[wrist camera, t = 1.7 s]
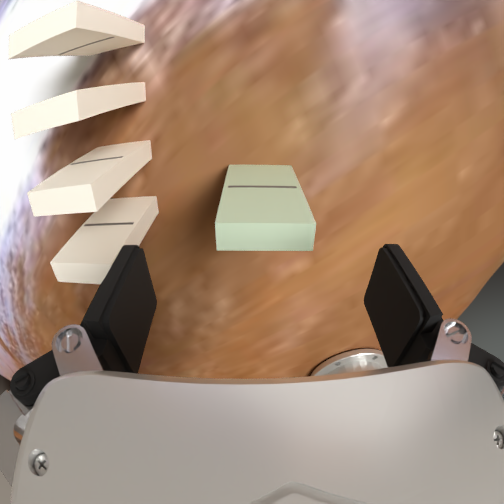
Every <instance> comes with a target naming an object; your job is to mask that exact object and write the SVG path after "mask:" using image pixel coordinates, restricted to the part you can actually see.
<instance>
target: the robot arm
mask: <svg viewBox="0 0 504 504" xmlns="http://www.w3.org/2000/svg"><path fill="white" fill-rule="evenodd" d="M364 304H365V307H366V310H367V312H368V315H369V317H370V320H371V322H372V325H373V328H374V330H375V333H376V336H377V338H378V341H379V344H380V347H381V349H382V351H380V350H376V349H358V350H352V351H348V352H344V353H342V354H339V355H336V356H334V357H332V358H330V359H328V360H326V361H325V362H323V363H322V364H320V365H319V366H318V367H317V368H316V369H315V370H314V371H313V372H312V374H311V376H308V377H292V378H267V379H215V378H190V377H174V376H161V375H148V374H137V373H138V370H139V367H140V363H141V359H142V355H143V351H144V348H145V344H146V340H147V337H148V333H149V330H150V326H151V323H152V319H153V316H154V313H155V309H156V305H157V300H156V296H155V292H154V289H153V285H152V281H151V278H150V274H149V270H148V266H147V262H146V258H145V254H144V251H143V249H142V248H139V246H138V245H123V247H122V248H121V250H120V252H119V253H118V255H117V257H116V259H115V261H114V262H113V264H112V266H111V268H110V269H109V271H108V273H107V275H106V277H105V278H104V280H103V281H102V283H101V285H100V287H99V288H98V290H97V292H96V294H95V296H94V298H93V300H92V302H91V304H90V306H89V308H88V310H87V312H86V314H85V316H84V318H83V320H82V323H81V325H75V324H74V325H68V326H65V327H63V328H62V329H60V330H59V331H58V332H57V333H56V334H55V336H54V338H53V341H52V350H51V351H50V352H48V353H46V354H44V355H43V356H41V357H39V358H38V359H36V360H34V361H33V362H31V363H29V364H27V365H26V366H24V367H22V368H21V369H19V370H18V371H17V372H16V373H15V374H14V375H13V377H12V380H11V384H10V388H11V390H10V391H9V392H8V391H7V390H6V391H5V392H4V393H3V394H2V395H1V396H0V470H1V472H2V473H3V475H4V476H5V478H6V479H7V481H8V482H9V484H10V485H11V486H12V493H11V504H504V363H503V362H502V361H501V360H500V359H498V358H497V357H495V356H493V355H491V354H490V353H488V352H486V351H485V350H483V349H481V348H479V347H477V346H476V345H474V344H472V343H471V333H470V331H469V329H468V328H467V326H465V324H464V323H462V322H461V321H459V320H456V319H451V318H449V319H446V320H444V321H443V319H442V315H443V314H442V312H441V310H440V308H439V307H438V305H437V303H436V302H435V300H434V298H433V297H432V295H431V293H430V292H429V290H428V288H427V287H426V285H425V284H424V282H423V280H422V279H421V277H420V276H419V274H418V273H417V271H416V270H415V268H414V267H413V265H412V264H411V262H410V261H409V259H408V258H407V256H406V255H405V253H404V252H403V250H402V249H401V247H400V246H399V245H398V244H385V245H384V246H383V248H380V249H379V252H378V255H377V259H376V262H375V265H374V269H373V272H372V275H371V278H370V281H369V284H368V287H367V290H366V293H365V296H364Z"/></svg>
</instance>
